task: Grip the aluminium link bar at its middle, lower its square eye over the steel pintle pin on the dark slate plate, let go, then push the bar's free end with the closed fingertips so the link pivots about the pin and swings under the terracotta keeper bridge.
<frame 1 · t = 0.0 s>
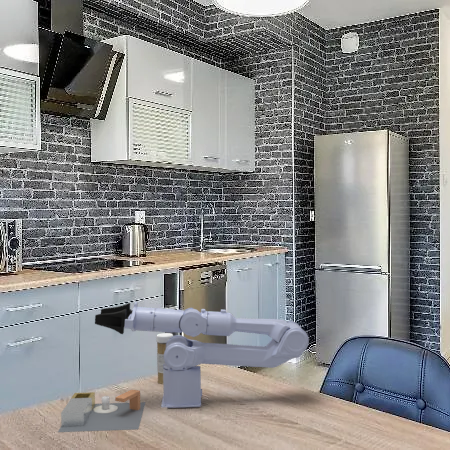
hand: (98, 316, 134), 22 cm above the table, tool horizontal, fingers open, 7 cm apart
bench: (104, 417, 126), on the table
sprinkles bottle: (165, 383, 151), on the table
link: (76, 419, 124), resting on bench
keeper: (127, 414, 128), resting on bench
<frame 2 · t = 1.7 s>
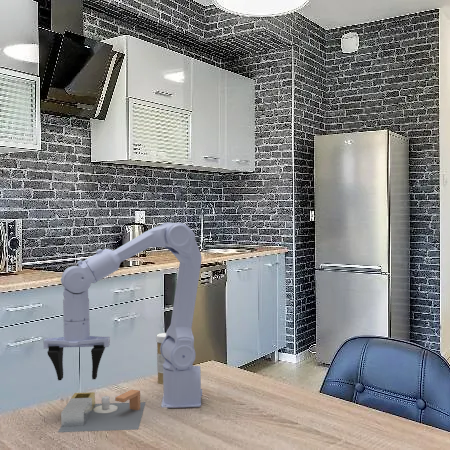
hand: (77, 378, 126), 9 cm above the table, tool pointing down, fingers open, 7 cm apart
nothing on the table moved.
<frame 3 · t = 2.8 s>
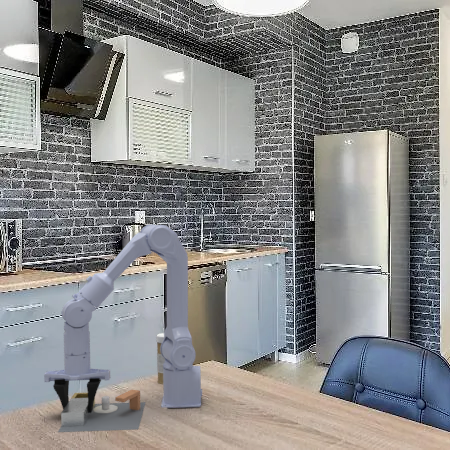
hand: (78, 411, 126), 1 cm above the table, tool pointing down, fingers closed on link, 5 cm apart
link: (76, 419, 124), resting on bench, touching gripper
everything else where it was.
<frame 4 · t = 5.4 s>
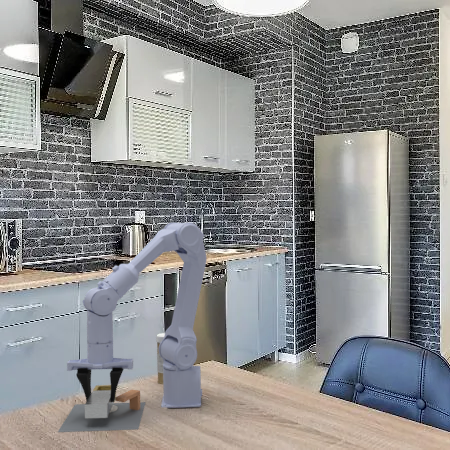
hand: (100, 401, 125), 4 cm above the table, tool pointing down, fingers closed on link, 5 cm apart
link: (99, 411, 123), point 2 cm above the table, touching gripper
everything else where it was.
when the fingers open (2 cm above the table, at t = 7.3 s): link stays where it is, resting on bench.
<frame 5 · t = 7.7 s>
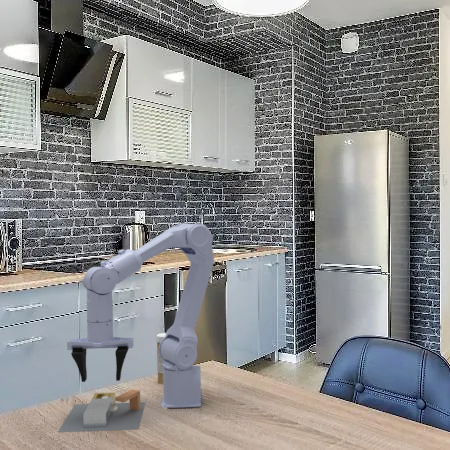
hand: (101, 380, 125), 9 cm above the table, tool pointing down, fingers open, 7 cm apart
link: (98, 420, 124), resting on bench
everything else where it was.
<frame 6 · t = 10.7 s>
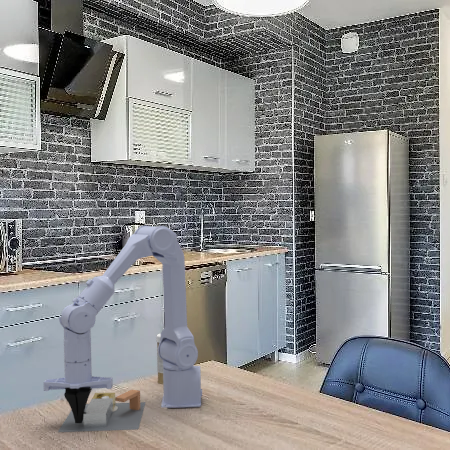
hand: (79, 421, 121), 1 cm above the table, tool pointing down, fingers closed
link: (98, 420, 124), resting on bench, touching gripper
everything else where it was.
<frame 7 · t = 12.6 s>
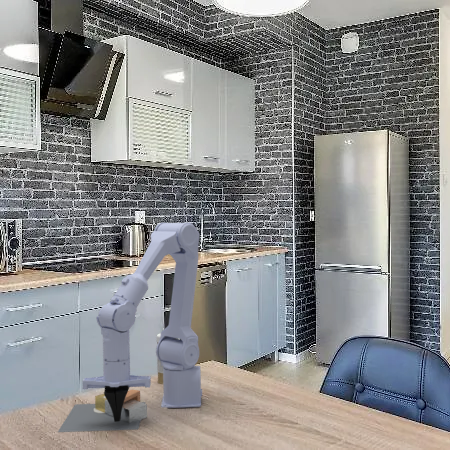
hand: (117, 420, 121), 1 cm above the table, tool pointing down, fingers closed
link: (127, 416, 126), resting on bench, touching gripper
everything else where it was.
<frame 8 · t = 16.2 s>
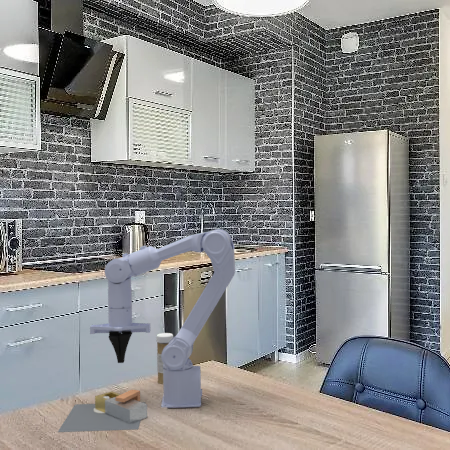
hand: (121, 361, 137), 10 cm above the table, tool pointing down, fingers closed
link: (127, 415, 126), resting on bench
everything else where it was.
at the end: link 1.1 cm from the target spot, resting on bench; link tilted 1°; the gripper is holding nothing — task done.
